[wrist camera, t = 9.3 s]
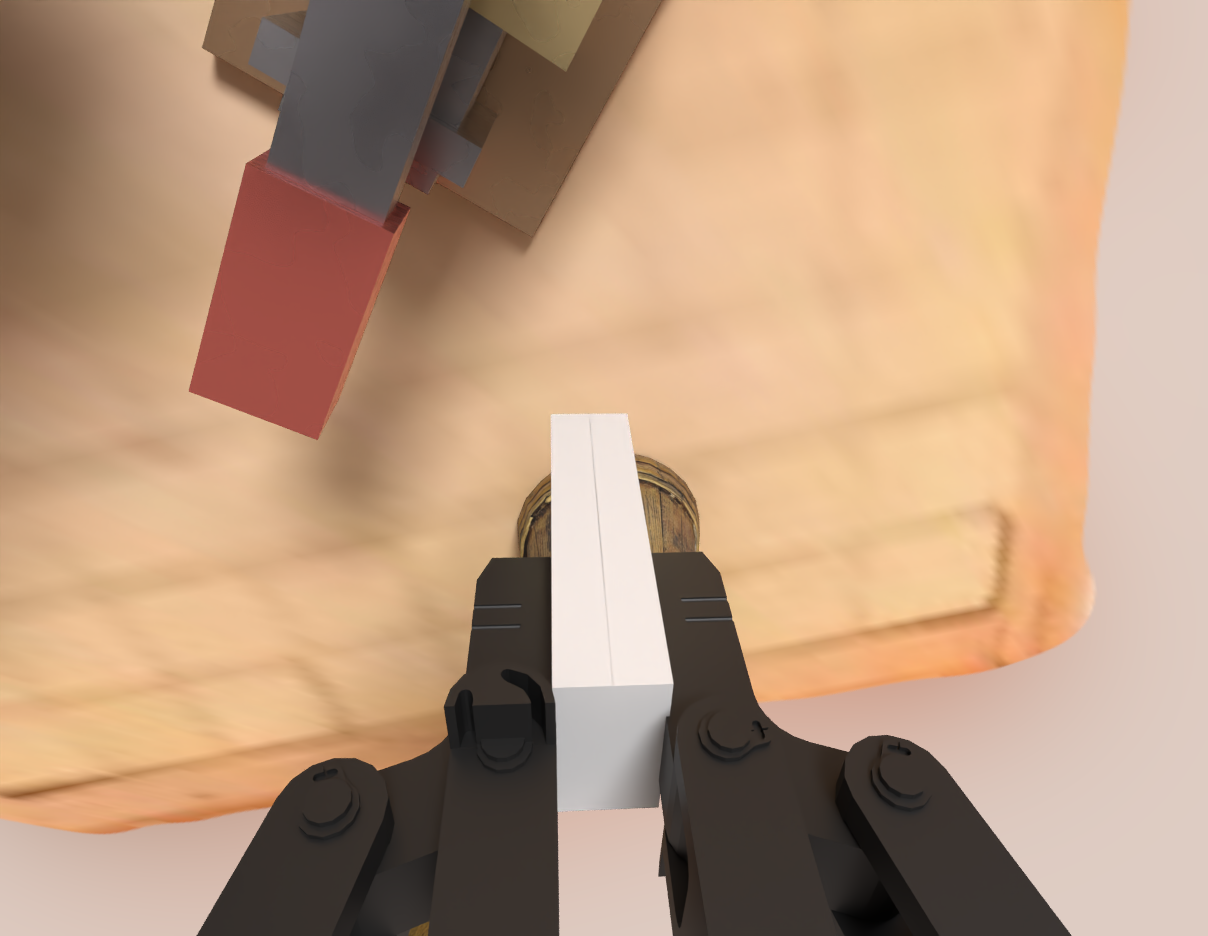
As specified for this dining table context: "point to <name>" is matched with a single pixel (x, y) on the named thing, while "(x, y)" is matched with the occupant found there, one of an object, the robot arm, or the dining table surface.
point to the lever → (323, 208)
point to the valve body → (481, 89)
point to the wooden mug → (664, 513)
